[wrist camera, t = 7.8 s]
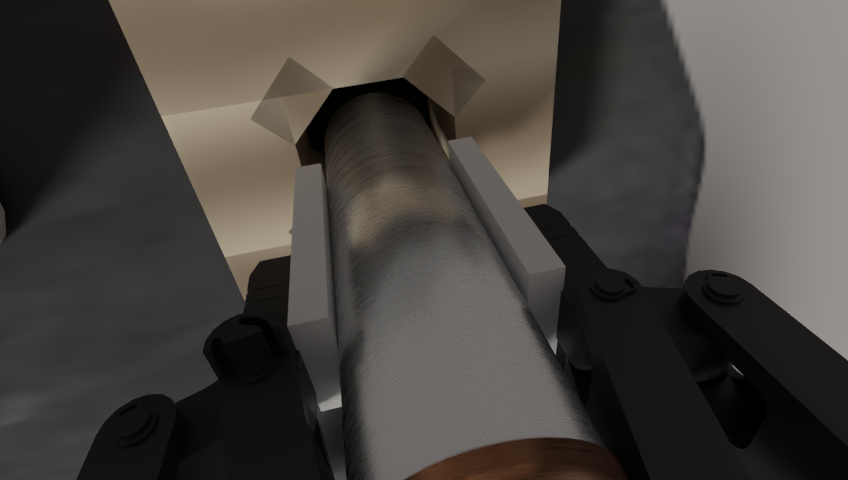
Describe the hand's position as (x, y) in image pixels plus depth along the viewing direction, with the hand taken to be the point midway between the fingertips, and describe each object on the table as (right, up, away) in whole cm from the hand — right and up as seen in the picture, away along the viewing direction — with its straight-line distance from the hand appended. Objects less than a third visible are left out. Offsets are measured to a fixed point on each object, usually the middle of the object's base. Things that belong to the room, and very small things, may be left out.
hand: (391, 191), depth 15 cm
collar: (-2, +4, +6) cm, 7 cm away
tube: (-1, +2, +3) cm, 4 cm away
